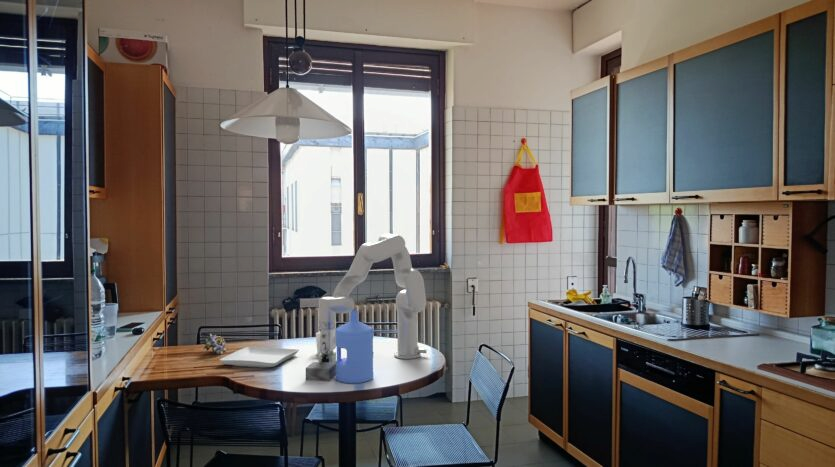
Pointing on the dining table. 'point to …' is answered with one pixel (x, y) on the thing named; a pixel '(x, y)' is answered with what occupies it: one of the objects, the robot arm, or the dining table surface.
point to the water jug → (354, 351)
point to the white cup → (318, 342)
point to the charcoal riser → (320, 371)
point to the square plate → (259, 356)
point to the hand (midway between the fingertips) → (327, 364)
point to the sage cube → (331, 357)
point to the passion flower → (215, 344)
